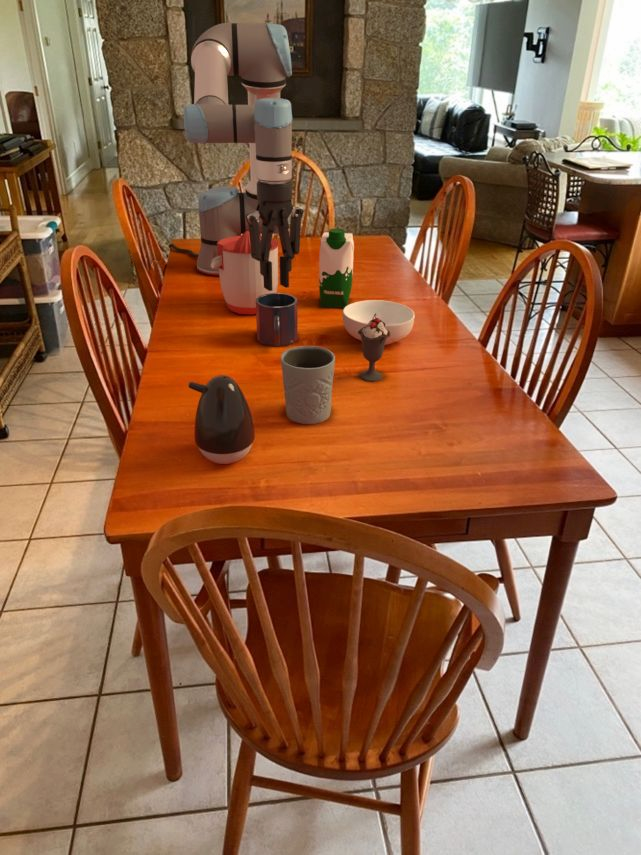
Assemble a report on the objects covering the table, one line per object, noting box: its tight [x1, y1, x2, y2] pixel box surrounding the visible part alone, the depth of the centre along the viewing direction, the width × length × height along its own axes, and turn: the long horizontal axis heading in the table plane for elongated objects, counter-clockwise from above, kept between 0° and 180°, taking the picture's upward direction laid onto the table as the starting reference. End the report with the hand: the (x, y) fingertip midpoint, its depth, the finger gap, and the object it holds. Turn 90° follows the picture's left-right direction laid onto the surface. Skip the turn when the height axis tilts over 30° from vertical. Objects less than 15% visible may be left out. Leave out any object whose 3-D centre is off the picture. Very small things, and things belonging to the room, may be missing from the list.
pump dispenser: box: [188, 374, 256, 465], centre depth 111 cm, size 10×10×15 cm
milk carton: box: [318, 228, 355, 309], centre depth 174 cm, size 9×9×20 cm
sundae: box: [358, 313, 390, 382], centre depth 138 cm, size 7×7×15 cm
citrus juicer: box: [211, 231, 280, 315], centre depth 170 cm, size 16×17×20 cm
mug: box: [255, 292, 298, 347], centre depth 155 cm, size 13×10×10 cm
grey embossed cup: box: [280, 345, 336, 425], centre depth 125 cm, size 10×10×12 cm
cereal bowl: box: [342, 299, 416, 346], centre depth 157 cm, size 17×17×7 cm
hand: (276, 287), depth 152 cm, fingers open, 4 cm apart
